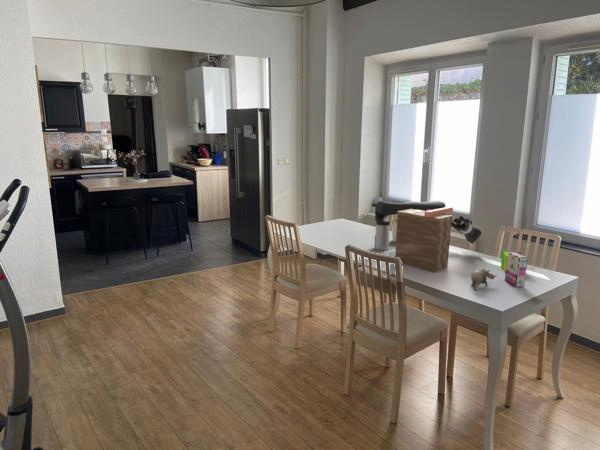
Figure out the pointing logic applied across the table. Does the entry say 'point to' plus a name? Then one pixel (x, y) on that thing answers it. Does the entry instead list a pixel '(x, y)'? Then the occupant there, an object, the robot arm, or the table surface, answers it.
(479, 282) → the rhino figurine
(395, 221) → the jug
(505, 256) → the puzzle toy
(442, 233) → the cabinet
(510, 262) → the candy bar box
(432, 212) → the baton
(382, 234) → the robot arm
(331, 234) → the table surface
